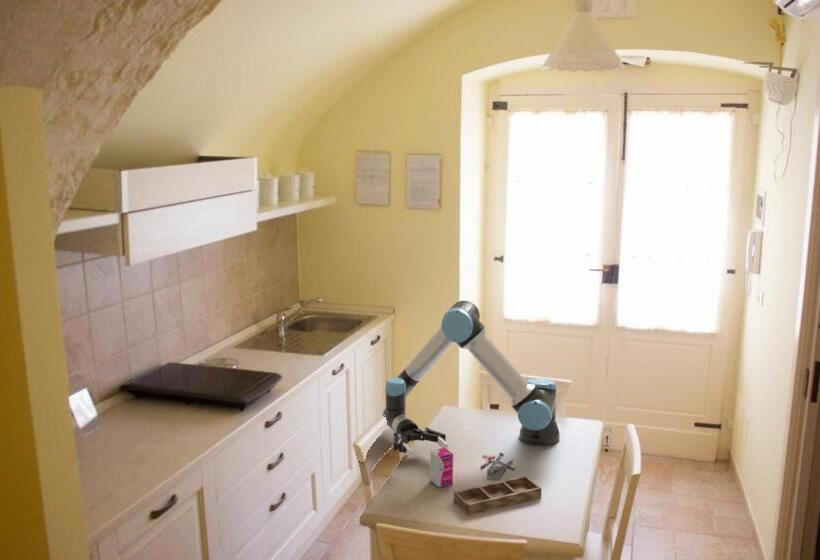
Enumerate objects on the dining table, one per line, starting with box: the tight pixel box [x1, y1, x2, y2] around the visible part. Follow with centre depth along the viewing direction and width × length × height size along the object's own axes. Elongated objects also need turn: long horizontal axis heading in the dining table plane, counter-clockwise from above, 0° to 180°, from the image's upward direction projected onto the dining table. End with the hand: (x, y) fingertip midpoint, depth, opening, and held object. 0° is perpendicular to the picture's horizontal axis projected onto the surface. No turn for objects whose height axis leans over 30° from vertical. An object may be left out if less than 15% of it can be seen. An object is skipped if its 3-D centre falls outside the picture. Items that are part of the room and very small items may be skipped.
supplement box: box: [429, 447, 454, 489], centre depth 260 cm, size 6×6×12 cm
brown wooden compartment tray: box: [453, 475, 542, 516], centre depth 249 cm, size 27×10×4 cm, turn 113°
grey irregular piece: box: [486, 452, 513, 481], centre depth 272 cm, size 21×7×2 cm, turn 154°
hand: (429, 450), depth 268 cm, fingers open, 13 cm apart
